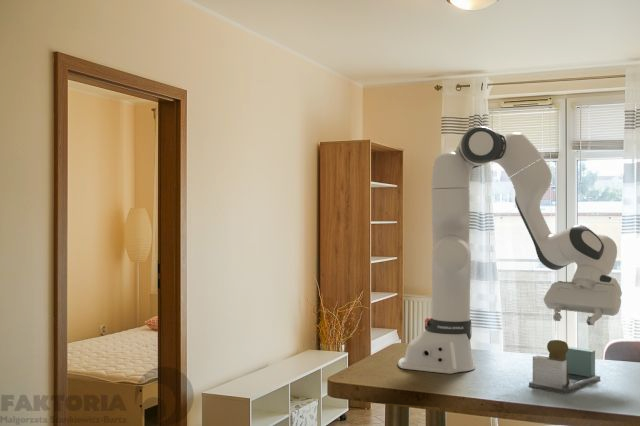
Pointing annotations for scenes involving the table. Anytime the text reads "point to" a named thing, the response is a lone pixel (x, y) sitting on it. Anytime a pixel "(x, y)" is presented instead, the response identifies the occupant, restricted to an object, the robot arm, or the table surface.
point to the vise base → (556, 376)
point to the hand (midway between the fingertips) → (572, 321)
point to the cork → (558, 352)
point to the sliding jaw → (581, 361)
